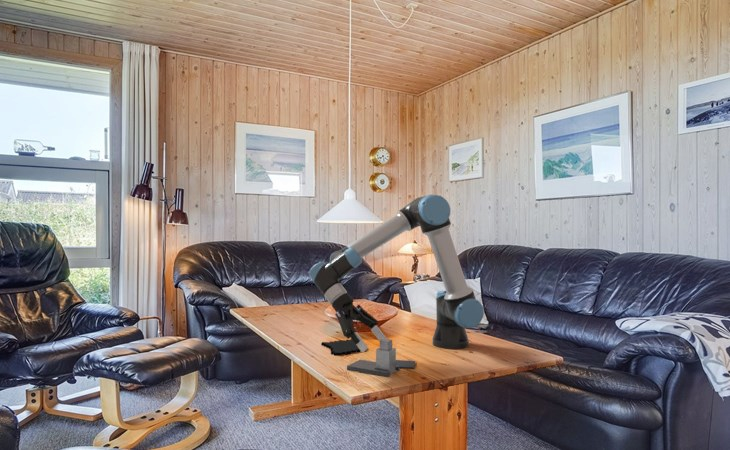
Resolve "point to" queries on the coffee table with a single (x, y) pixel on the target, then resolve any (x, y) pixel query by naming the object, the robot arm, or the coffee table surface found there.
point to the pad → (405, 364)
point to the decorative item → (342, 347)
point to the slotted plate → (368, 368)
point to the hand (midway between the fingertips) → (375, 345)
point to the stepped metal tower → (386, 356)
